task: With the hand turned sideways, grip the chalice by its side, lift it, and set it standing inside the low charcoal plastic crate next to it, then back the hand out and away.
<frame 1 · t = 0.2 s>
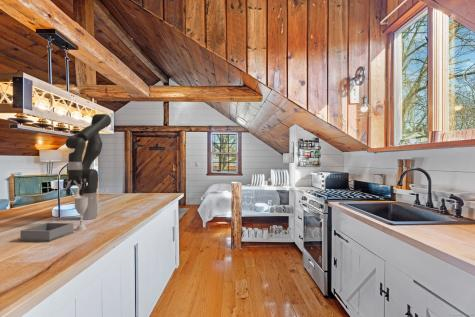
hand: (74, 195, 150), 17 cm above the worktop, tool pointing down, fingers open, 8 cm apart
chalice: (81, 229, 136), on the worktop
crate: (48, 236, 123), on the worktop
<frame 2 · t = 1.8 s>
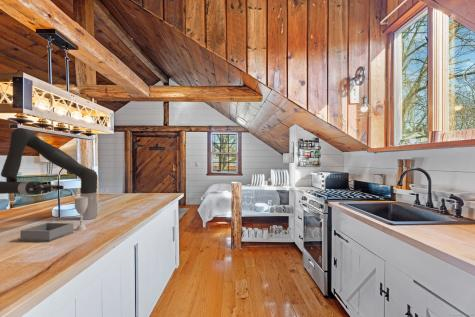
hand: (57, 188, 138), 23 cm above the worktop, tool horizontal, fingers open, 8 cm apart
nothing on the worktop moved.
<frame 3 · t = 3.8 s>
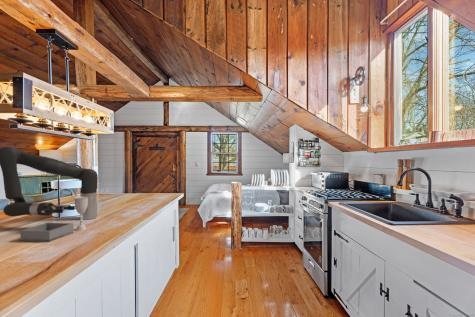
hand: (68, 209, 137), 11 cm above the worktop, tool horizontal, fingers open, 8 cm apart
nothing on the worktop moved.
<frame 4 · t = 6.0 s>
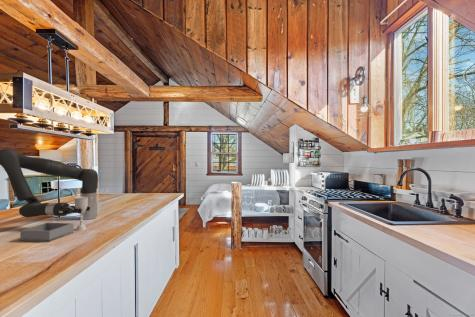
hand: (85, 209, 136), 11 cm above the worktop, tool horizontal, fingers closed on chalice, 6 cm apart
chalice: (81, 229, 136), on the worktop, touching gripper
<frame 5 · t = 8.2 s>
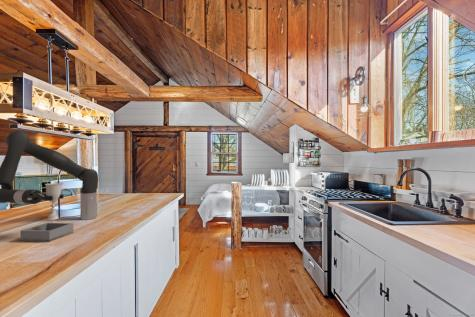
hand: (57, 197, 125), 20 cm above the worktop, tool horizontal, fingers closed on chalice, 6 cm apart
chalice: (52, 219, 125), point 8 cm above the worktop, touching gripper
when the fingers open (13 cm above the worktop, at t = 10.5 s): chalice drops 1 cm, resting on crate.
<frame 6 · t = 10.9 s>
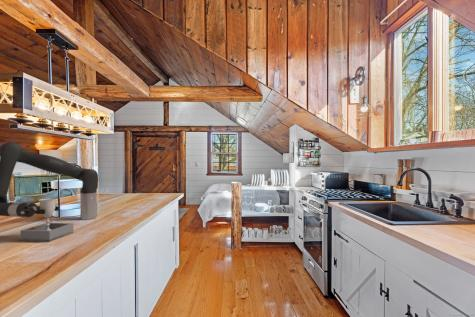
hand: (52, 210, 123), 13 cm above the worktop, tool horizontal, fingers open, 8 cm apart
chalice: (47, 234, 123), point 1 cm above the worktop, touching crate
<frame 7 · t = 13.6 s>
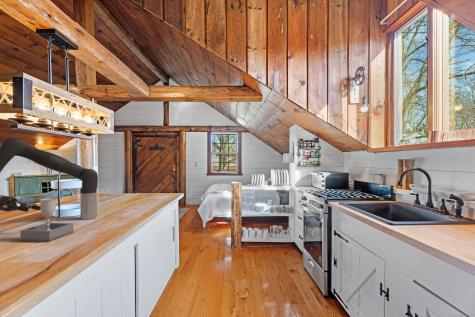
hand: (34, 208, 126), 13 cm above the worktop, tool horizontal, fingers open, 8 cm apart
nothing on the worktop moved.
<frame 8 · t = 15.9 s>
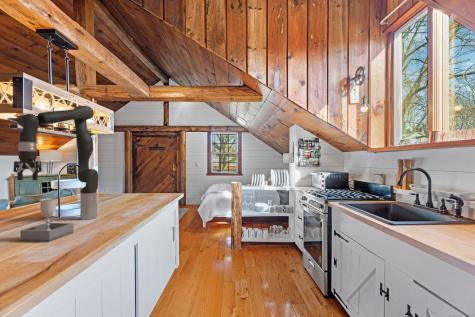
hand: (27, 180, 132), 28 cm above the worktop, tool pointing down, fingers open, 8 cm apart
nothing on the worktop moved.
at the end: chalice inside the target area on the crate (0.2 cm from its centre), point 0.8 cm above the crate's base; chalice tilted 0°; the gripper is holding nothing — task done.
